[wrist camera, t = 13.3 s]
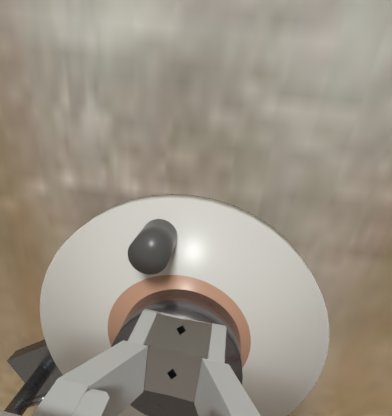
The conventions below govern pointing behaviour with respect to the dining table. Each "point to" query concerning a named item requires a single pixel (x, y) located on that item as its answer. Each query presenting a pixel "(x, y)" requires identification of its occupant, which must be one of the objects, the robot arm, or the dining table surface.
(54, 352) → the turntable
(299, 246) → the dining table surface
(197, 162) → the dining table surface
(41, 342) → the dial gauge stand
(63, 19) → the dining table surface
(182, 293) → the cover
